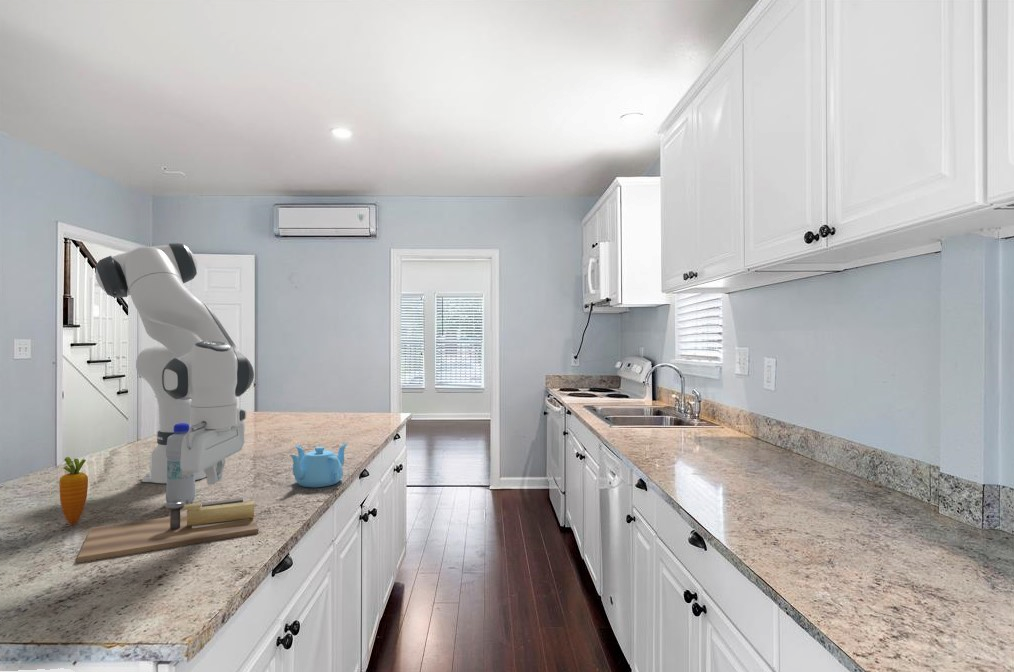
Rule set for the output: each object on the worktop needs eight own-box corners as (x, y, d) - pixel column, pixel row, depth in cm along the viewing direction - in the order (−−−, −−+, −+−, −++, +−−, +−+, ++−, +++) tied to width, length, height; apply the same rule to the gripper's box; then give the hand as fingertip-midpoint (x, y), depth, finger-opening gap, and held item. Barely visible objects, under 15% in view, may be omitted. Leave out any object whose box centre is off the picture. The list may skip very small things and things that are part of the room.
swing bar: (163, 529, 110) (164, 506, 110) (166, 524, 114) (166, 501, 114) (254, 518, 118) (254, 496, 118) (253, 513, 121) (254, 492, 121)
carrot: (93, 523, 118) (94, 455, 118) (68, 531, 113) (69, 460, 113) (77, 520, 120) (78, 453, 120) (52, 528, 115) (53, 458, 115)
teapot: (342, 489, 147) (343, 451, 148) (284, 491, 145) (285, 453, 145) (347, 476, 162) (348, 442, 162) (294, 477, 159) (295, 443, 159)
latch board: (91, 532, 113) (92, 508, 113) (249, 510, 128) (249, 489, 128) (77, 562, 97) (77, 535, 97) (258, 533, 113) (258, 509, 113)
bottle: (181, 508, 129) (182, 425, 129) (157, 506, 130) (159, 424, 130) (202, 500, 135) (203, 421, 136) (179, 498, 137) (181, 420, 137)
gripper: (204, 427, 104) (204, 498, 104) (249, 410, 124) (250, 469, 125) (170, 427, 104) (171, 498, 104) (221, 410, 124) (222, 469, 124)
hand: (214, 482), depth 114 cm, fingers closed
